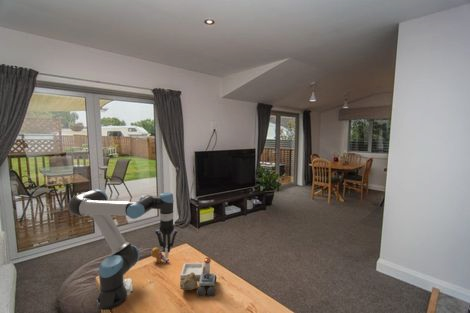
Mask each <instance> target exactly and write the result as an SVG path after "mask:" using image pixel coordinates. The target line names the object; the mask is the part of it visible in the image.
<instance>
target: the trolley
mask: <svg viewBox="0 0 470 313" xmlns="http://www.w3.org/2000/svg"><path fill="white" fill-rule="evenodd" d="M198 281H199V282H198V286H197V288H196V295H197V296H198V297H199V298H202V297H204V296H205V295H207V296H208V297H214V296H215V295H216V294H217V289H216V287H215V283H216V282H217V275H216V273H210V278H209V279H205V273H203V274H201V275H200V277H199V279H198ZM205 286H208V287H207V289H206V287H205Z"/></svg>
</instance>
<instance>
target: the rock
mask: <svg viewBox="0 0 470 313" xmlns="http://www.w3.org/2000/svg"><path fill="white" fill-rule="evenodd" d="M179 284H180V286H179V287H180V290H183V291H187V290H188V291H193V290H197V289H198V282H197V279H196V276H195V273H193V272H192V273H190V274H188V275H187V277H186V278H185V279H184V280H181V279H180V282H179Z"/></svg>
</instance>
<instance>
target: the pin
mask: <svg viewBox="0 0 470 313" xmlns="http://www.w3.org/2000/svg"><path fill="white" fill-rule="evenodd" d="M211 262H212V260H211V258H210V257H205V258H204V262H203V263H204V274H205V279H209V278H210V274H211V273H210V270H211V269H210V268H211V265H210V264H211Z"/></svg>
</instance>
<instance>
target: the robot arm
mask: <svg viewBox="0 0 470 313" xmlns="http://www.w3.org/2000/svg"><path fill="white" fill-rule="evenodd" d="M108 199H109V197H108V194H106V192H105V191H103V190H102V189H93V190H89V191H86V192H83V193H80V194H76V195H75V196H73V197H72V198H70V200H69V201H68V203H67V210H68V211H69V213H70V214H72V215H73V216H77V217H87V216H88V217H92V219H93V220H94V222H95V224H96V226H97V227H98V229H99V231H100V232H101V234H102V236H103V237H104V240H105V241H106V242H107V244H108V246H109V248H110V249H111V254H110V255H111V256H107V257H106V258H104V259H103V260H102V261H101V262H100V264H99V268H98V275H99V276H98V279H99V293H98V295H97V299H96V307H97V308H98V309H100V310H103V311H106V310H107V311H109V310H112V308H113V309H115V308H114V307H116V308H117V306H118V307H119V306H120V305H123V304H124V302H125V301H126V300H127V299H128V290H127V287H126V286H125V284H124V283H125V282H124V276H125V275H126V273H128V272H129V271H130V270H131V269H132V268H133V267H134V266H135V265H136V264H137V263H138V261H139V260H140V257H141V256H140V255H141V253H140V249H139V247H137V246H135V245H134V244H131V242H128V241H126V239H125V238H124V236H123V235H122V233H121V231H120V229H119V228H118V226H117V224H116V222H115V220H114V219H113V218H112V216H122V217H123V216H125V217H129V218H130V219H132V220H133V219H134V220H135V219H139V218H141V217H142V216H143V215H145V214H146V213H148V212H149V211H151V210H159V218H160V220H159V228H158V229H156V230H155V232H154V233H155V234H156V235H157V239H158V243H159V247H162V251H163V253H164V257H165V258H166V259H168V258H169V256H170V255H169V253H170V252H171V247H173V246H174V244H175V240H176V236H177V233H178V231H179V230H178V229H176V228H175V227H174V201H175V199H174V194H173V193H172V192H162V193H160V194H159V195H149V194H147V195H145V194H143V195H141V197H140V198H139V201H127V200H126V201H125V200H124V201H122V200H108ZM172 232H173V234H172ZM171 234H172V238H171Z"/></svg>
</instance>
